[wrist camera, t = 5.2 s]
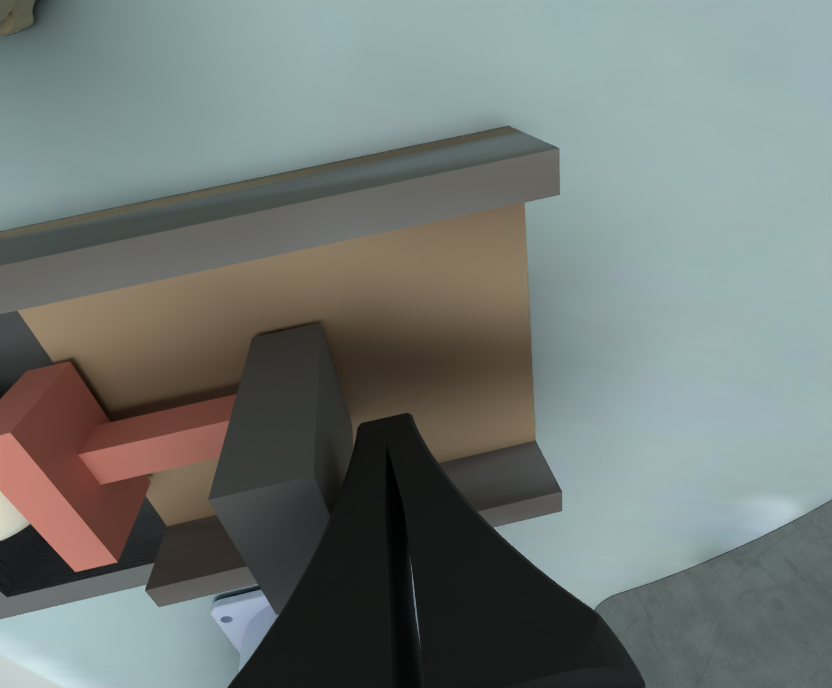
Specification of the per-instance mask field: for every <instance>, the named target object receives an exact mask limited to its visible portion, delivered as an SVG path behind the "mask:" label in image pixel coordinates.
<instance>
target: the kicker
mask: <svg viewBox="0 0 832 688" xmlns="http://www.w3.org/2000/svg"><path fill="white" fill-rule="evenodd" d="M352 452H353V430H352V422H351V419H350V416H349V413H348V410H347V407H346V403H345V400H344V397H343V394H342V391H341V388H340V384H339V381H338V378H337V375H336V372H335V369H334V365H333V362H332V359H331V356H330V353H329V350H328V346H327V343H326V340H325V337H324V334H323V331H322V327H321V324H320V323H316V324H312V325H307V326H303V327H298V328H294V329H289V330H284V331H280V332H275V333H271V334H266V335H262V336H257V337H253V338H252V340H251V344H250V347H249V351H248V355H247V358H246V362H245V366H244V369H243V373H242V377H241V380H240V384H239V388H238V391H237V394H235V395H230V396H226V397H221V398H217V399H213V400H208V401H204V402H199V403H195V404H190V405H186V406H181V407H177V408H172V409H168V410H163V411H159V412H154V413H150V414H145V415H141V416H137V417H132V418H128V419H123V420H119V421H114V422H110V420H109V419H108V417H107V416H106V414H105V413H104V411H103V410H102V409H101V407H100V406H99V404H98V403H97V401H96V400H95V398H94V397H93V395H92V394H91V392H90V391H89V389H88V388H87V386H86V385H85V383H84V382H83V380H82V379H81V377H80V376H79V374H78V373H77V371H76V370H75V368H74V367H73V365H72V364H71V362H70V361H69V362H65V363H60V364H55V365H51V366H46V367H42V368H37V369H33V370H28V371H26V372H25V373H24V374H23V375H22V376H21V378H20V379H19V380H18V381H17V382H16V383H15V384H14V385H13V386H12V387H11V388H10V389H9V390H8V391H7V392H6V393H5V395H4V396H3V397H2V398H1V399H0V491H1V492H2V493H3V495H4V496H5V497H6V498H7V499H8V500H9V501H10V502H11V503H12V504H13V505H14V506H15V507H16V509H17V510H18V511H19V512H20V513H21V514H22V515H23V516H24V517H25V518H26V519H27V520H28V522H29V523H30V524H31V525H32V526H33V527H34V528H35V529H36V530H37V531H38V532H39V533H40V534H41V536H42V537H43V538H44V539H45V540H46V541H47V542H48V543H49V544H50V545H51V546H52V547H53V549H54V550H55V551H56V552H57V553H58V554H59V555H60V556H61V557H62V558H63V559H64V560H65V561H66V563H67V564H68V565H69V566H70V567H71V568H72V569H73V570H74V571H75V572H78V571H82V570H87V569H91V568H95V567H99V566H104V565H108V564H112V563H117V562H118V561H119V558H120V556H121V553H122V551H123V549H124V546H125V544H126V541H127V539H128V536H129V534H130V532H131V529H132V527H133V524H134V522H135V520H136V517H137V515H138V512H139V510H140V508H141V505H142V503H143V500H144V498H145V495H146V493H147V491H148V488H149V486H150V483H151V482H150V480H149V479H148V477H147V476H146V474H150V473H154V472H158V471H163V470H167V469H172V468H176V467H180V466H185V465H189V464H194V463H198V462H202V461H207V460H211V459H215V458H219V461H218V465H217V468H216V472H215V476H214V479H213V483H212V487H211V490H210V494H209V498H208V501H209V503H210V505H211V506H212V508H213V510H214V511H215V513H216V515H217V516H218V518H219V520H220V521H221V523H222V525H223V526H224V528H225V530H226V531H227V533H228V535H229V536H230V538H231V540H232V542H233V543H234V545H235V547H236V548H237V550H238V552H239V553H240V555H241V557H242V558H243V560H244V562H245V563H246V565H247V567H248V568H249V570H250V572H251V573H252V575H253V577H254V578H255V580H256V582H257V584H258V585H259V587H260V589H261V590H262V592H263V594H264V595H265V597H266V599H267V600H268V602H269V604H270V605H271V607H272V609H273V610H274V612H275V614H276V615H278V614H280V612H281V611H282V609H283V608H284V606H285V604H286V603H287V601H288V599H289V598H290V596H291V594H292V593H293V591H294V589H295V587H296V585H297V584H298V582H299V580H300V578H301V577H302V575H303V573H304V571H305V569H306V568H307V566H308V564H309V562H310V560H311V558H312V556H313V554H314V552H315V550H316V548H317V546H318V544H319V542H320V540H321V537H322V535H323V533H324V531H325V529H326V526H327V524H328V521H329V519H330V517H331V514H332V512H333V509H334V507H335V504H336V502H337V499H338V496H339V494H340V491H341V488H342V485H343V482H344V479H345V476H346V473H347V470H348V467H349V463H350V459H351V456H352Z"/></svg>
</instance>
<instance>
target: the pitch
mask: <svg viewBox="0 0 832 688" xmlns="http://www.w3.org/2000/svg"><path fill="white" fill-rule="evenodd" d="M556 195H560V173H559V148H557V147H555V146H553V145H551V144H548V143H546V142H544V141H542V140H539V139H537V138H535V137H533V136H530V135H528V134H526V133H523V132H521V131H519V130H517V129H514V128H512V127H510V126H507V127H502V128H497V129H493V130H488V131H483V132H478V133H473V134H468V135H464V136H459V137H454V138H449V139H444V140H439V141H435V142H430V143H425V144H420V145H415V146H411V147H406V148H401V149H396V150H391V151H386V152H382V153H377V154H372V155H367V156H362V157H357V158H353V159H348V160H343V161H338V162H333V163H329V164H324V165H319V166H314V167H309V168H304V169H300V170H295V171H290V172H285V173H280V174H275V175H271V176H266V177H261V178H256V179H251V180H247V181H242V182H237V183H232V184H227V185H222V186H218V187H213V188H208V189H203V190H198V191H194V192H189V193H184V194H179V195H174V196H169V197H165V198H160V199H155V200H150V201H145V202H140V203H136V204H131V205H126V206H121V207H116V208H112V209H107V210H102V211H97V212H92V213H87V214H83V215H78V216H73V217H68V218H63V219H58V220H54V221H49V222H44V223H39V224H34V225H30V226H25V227H20V228H15V229H10V230H5V231H1V232H0V314H4V313H8V312H13V311H18V312H19V314H20V315H21V316H22V318H23V319H24V321H25V322H26V324H27V325H28V327H29V328H30V329H31V331H32V332H33V334H34V335H35V337H36V338H37V340H38V341H39V342H40V344H41V345H42V347H43V348H44V350H45V351H46V353H47V354H48V355H49V357H50V358H51V360H52V361H53V363H54V364H60V363H65V362H69V361H70V362H71V364H72V365H73V367H74V368H75V370H76V371H77V373H78V374H79V376H80V377H81V379H82V380H83V382H84V383H85V385H86V386H87V388H88V389H89V391H90V392H91V394H92V395H93V397H94V398H95V400H96V401H97V403H98V404H99V406H100V407H101V409H102V410H103V411H104V413H105V414H106V416H107V417H108V419H109V420H110V422H114V421H119V420H123V419H128V418H132V417H137V416H141V415H145V414H150V413H154V412H159V411H163V410H168V409H172V408H177V407H181V406H186V405H190V404H195V403H199V402H204V401H208V400H213V399H217V398H221V397H226V396H230V395H235V394H237V391H238V388H239V384H240V380H241V377H242V373H243V369H244V366H245V362H246V358H247V355H248V351H249V347H250V344H251V340H252V338H253V337H257V336H262V335H266V334H271V333H275V332H280V331H284V330H289V329H294V328H298V327H303V326H307V325H312V324H316V323H320V324H321V327H322V331H323V334H324V337H325V340H326V343H327V346H328V350H329V353H330V356H331V359H332V362H333V365H334V369H335V372H336V375H337V378H338V381H339V384H340V388H341V391H342V394H343V397H344V400H345V403H346V407H347V410H348V413H349V416H350V419H351V422H352V430H353V448H354V444H355V439H356V434H357V428H358V426H359V425H360V424H361V423H364V422H368V421H372V420H377V419H381V418H386V417H390V416H394V415H399V414H403V413H409V414H411V415H413V419H414V421H415V424H416V426H417V429H418V431H419V433H420V435H421V436H422V438H423V440H424V442H425V443H426V445H427V447H428V449H429V450H430V452H431V453H432V455H433V456H434V458H435V459H436V461H437V462H438V463H439V465H440V466H441V468H442V469H443V471H444V472H445V473H446V475H447V476H448V477H449V479H450V480H451V481H452V483H453V484H454V485H455V486H456V488H457V489H458V490H459V491H460V492H461V494H462V495H463V496H464V497H465V498H466V500H467V501H468V502H469V503H470V504H471V505H472V506H473V508H474V509H475V510H476V511H477V512H478V513H479V514H480V515H481V516H482V517H483V518H484V519H485V520H486V521H487V522H488V523H489V524H490V525H491V526H492V527H497V526H501V525H505V524H509V523H514V522H518V521H522V520H526V519H530V518H534V517H539V516H543V515H547V514H551V513H555V512H560V511H562V491H561V489H560V487H559V485H558V483H557V481H556V479H555V477H554V475H553V473H552V472H551V470H550V468H549V466H548V464H547V462H546V460H545V458H544V456H543V454H542V452H541V450H540V448H539V447H538V445H537V443H536V441H535V421H534V399H533V378H532V357H531V335H530V314H529V293H528V271H527V250H526V229H525V207H524V202H528V201H533V200H537V199H542V198H547V197H551V196H556ZM218 461H219V458H215V459H211V460H207V461H202V462H198V463H194V464H189V465H185V466H180V467H176V468H172V469H167V470H163V471H158V472H154V473H150V474H146V476H147V477H148V479H149V480H150V482H151V483H150V486H149V488H148V491H147V493H146V497H147V498H148V500H149V501H150V503H151V504H152V505H153V507H154V508H155V510H156V511H157V513H158V514H159V515H160V517H161V518H162V520H163V521H164V523H165V524H166V526H167V528H166V531H165V534H164V537H163V540H162V542H161V545H160V548H159V551H158V554H157V557H156V560H155V563H154V566H153V569H152V572H151V575H150V577H149V580H148V583H147V586H146V589H145V591H146V592H147V593H148V595H149V596H150V597H151V598H152V599H153V601H154V602H155V603H156V604H157V606H158V607H162V606H166V605H170V604H174V603H178V602H183V601H187V600H191V599H195V598H199V597H203V596H208V595H212V594H216V593H220V592H224V591H229V590H233V589H237V588H241V587H245V586H250V585H254V584H257V582H256V580H255V578H254V577H253V575H252V573H251V572H250V570H249V568H248V567H247V565H246V563H245V562H244V560H243V558H242V557H241V555H240V553H239V552H238V550H237V548H236V547H235V545H234V543H233V542H232V540H231V538H230V536H229V535H228V533H227V531H226V530H225V528H224V526H223V525H222V523H221V521H220V520H219V518H218V516H217V515H216V513H215V511H214V510H213V508H212V506H211V505H210V503H209V501H208V498H209V494H210V490H211V487H212V483H213V479H214V476H215V472H216V468H217V465H218Z"/></svg>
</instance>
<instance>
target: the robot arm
mask: <svg viewBox="0 0 832 688" xmlns="http://www.w3.org/2000/svg"><path fill="white" fill-rule="evenodd" d="M410 557H411V560H410ZM411 565H412V573H413V581H414V589H415V598H416V607H417V616H418V625H419V635H420V642H419V636H418V630H417V623H416V617H415V608H414V599H413V586H412V573H411ZM211 615H212V617H213V618H214V619H215V621H216V622H217V624H218V625H219V626H220V628H221V629H222V630H223V632H224V633H225V635H226V636H227V637H228V639H229V640H230V641H231V643H232V644H233V646H234V647H235V648H236V650H237V651H238V652H239V654H240V660H239V667H238V673H237V676H236V677H235V678H234V680H233V681H232V682H231V684H230V685H229V686H228V687H227V688H646V687H645V681H644V679H643V677H642V675H641V673H640V671H639V669H638V668H637V666H636V665H635V663H634V661H633V660H632V658H631V656H630V655H629V653H628V652H627V650H626V649H625V647H624V646H623V644H622V643H621V642H620V640H619V639H618V637H617V636H616V635H615V633H614V632H613V631H612V629H611V628H610V627H609V626H608V624H607V623H606V622H605V621H604V619H603V618H602V617H601V616H600V614H599V613H597V612H596V611H595V610H593V609H592V608H590V607H589V606H587V605H586V604H584V603H583V602H582V601H580V600H579V599H577V598H576V597H575V596H573V595H572V594H571V593H569V592H568V591H566V590H565V589H564V588H562V587H561V586H560V585H558V584H557V583H556V582H555V581H553V580H552V579H551V578H549V577H548V576H547V575H546V574H544V573H543V572H542V571H541V570H539V569H538V568H537V567H536V566H535V565H533V564H532V563H531V562H530V561H529V560H528V559H527V558H525V557H524V556H523V555H522V554H521V553H520V552H519V551H517V550H516V549H515V548H514V547H513V546H512V545H511V544H509V543H508V542H507V541H506V540H505V539H504V538H503V537H502V536H501V535H500V534H499V533H498V532H497V531H496V530H495V529H494V528H493V527H492V526H491V525H490V524H489V523H488V522H487V521H486V520H485V519H484V518H483V517H482V516H481V515H480V514H479V513H478V512H477V511H476V510H475V509H474V508H473V506H472V505H471V504H470V503H469V502H468V501H467V500H466V498H465V497H464V496H463V495H462V494H461V492H460V491H459V490H458V489H457V488H456V486H455V485H454V484H453V483H452V481H451V480H450V479H449V477H448V476H447V475H446V473H445V472H444V471H443V469H442V468H441V466H440V465H439V463H438V462H437V461H436V459H435V458H434V456H433V455H432V453H431V452H430V450H429V449H428V447H427V445H426V443H425V442H424V440H423V438H422V436H421V435H420V433H419V431H418V429H417V426H416V424H415V421H414V419H413V415H411V414H409V413H403V414H399V415H394V416H390V417H386V418H381V419H377V420H372V421H368V422H364V423H361V424H360V425H359V426H358V428H357V434H356V439H355V444H354V448H353V452H352V456H351V459H350V463H349V467H348V470H347V473H346V476H345V479H344V482H343V485H342V488H341V491H340V494H339V496H338V499H337V502H336V504H335V507H334V509H333V512H332V514H331V517H330V519H329V521H328V524H327V526H326V529H325V531H324V533H323V535H322V537H321V540H320V542H319V544H318V546H317V548H316V550H315V552H314V554H313V556H312V558H311V560H310V562H309V564H308V566H307V568H306V569H305V571H304V573H303V575H302V577H301V578H300V580H299V582H298V584H297V585H296V587H295V589H294V591H293V593H292V594H291V596H290V598H289V599H288V601H287V603H286V604H285V606H284V608H283V609H282V611H281V612H280V614H278V615H276V614H275V612H274V610H273V609H272V607H271V605H270V604H269V602H268V600H267V599H266V597H265V595H264V594H263V592H262V590H257V591H253V592H249V593H245V594H241V595H236V596H232V597H228V598H224V599H220V600H217V601H215V602H214V603H213V605H212V608H211ZM420 645H421V648H420Z"/></svg>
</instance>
